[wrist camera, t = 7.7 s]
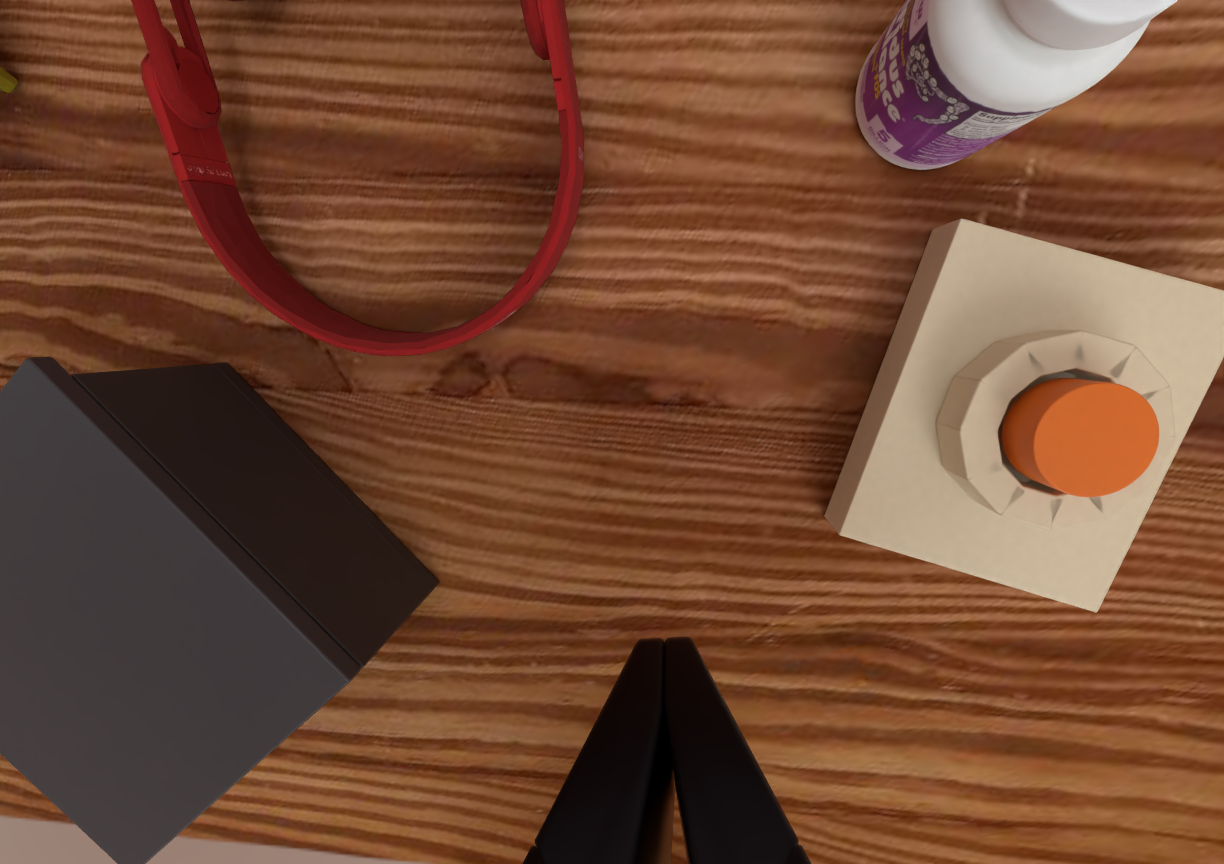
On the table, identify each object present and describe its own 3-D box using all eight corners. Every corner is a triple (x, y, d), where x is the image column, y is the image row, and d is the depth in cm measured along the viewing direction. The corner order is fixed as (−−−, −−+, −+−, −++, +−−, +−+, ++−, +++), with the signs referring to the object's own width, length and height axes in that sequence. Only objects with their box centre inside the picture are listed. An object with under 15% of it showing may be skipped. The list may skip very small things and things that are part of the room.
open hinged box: (69, 538, 28) (-119, 603, 21) (227, 362, 26) (71, 373, 19) (269, 734, 29) (150, 856, 22) (440, 582, 26) (363, 666, 20)
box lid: (-136, 588, 21) (-168, 599, 20) (52, 355, 19) (25, 356, 18) (149, 857, 22) (130, 877, 21) (362, 667, 20) (350, 682, 19)
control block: (1058, 587, 24) (1135, 638, 20) (823, 516, 24) (853, 553, 20) (1195, 301, 21) (1312, 295, 18) (932, 228, 22) (990, 206, 18)
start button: (1087, 496, 20) (1128, 512, 18) (983, 465, 20) (1014, 478, 18) (1135, 395, 19) (1182, 401, 17) (1027, 364, 19) (1062, 367, 17)
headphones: (150, -169, 22) (312, 356, 28) (-80, -355, 15) (201, 394, 21) (534, -272, 20) (618, 313, 26) (471, -535, 13) (604, 338, 19)
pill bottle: (837, 42, 21) (975, -190, 12) (990, -5, 20) (1269, -295, 11) (864, 192, 22) (1013, 89, 12) (1012, 152, 21) (1290, 9, 12)
